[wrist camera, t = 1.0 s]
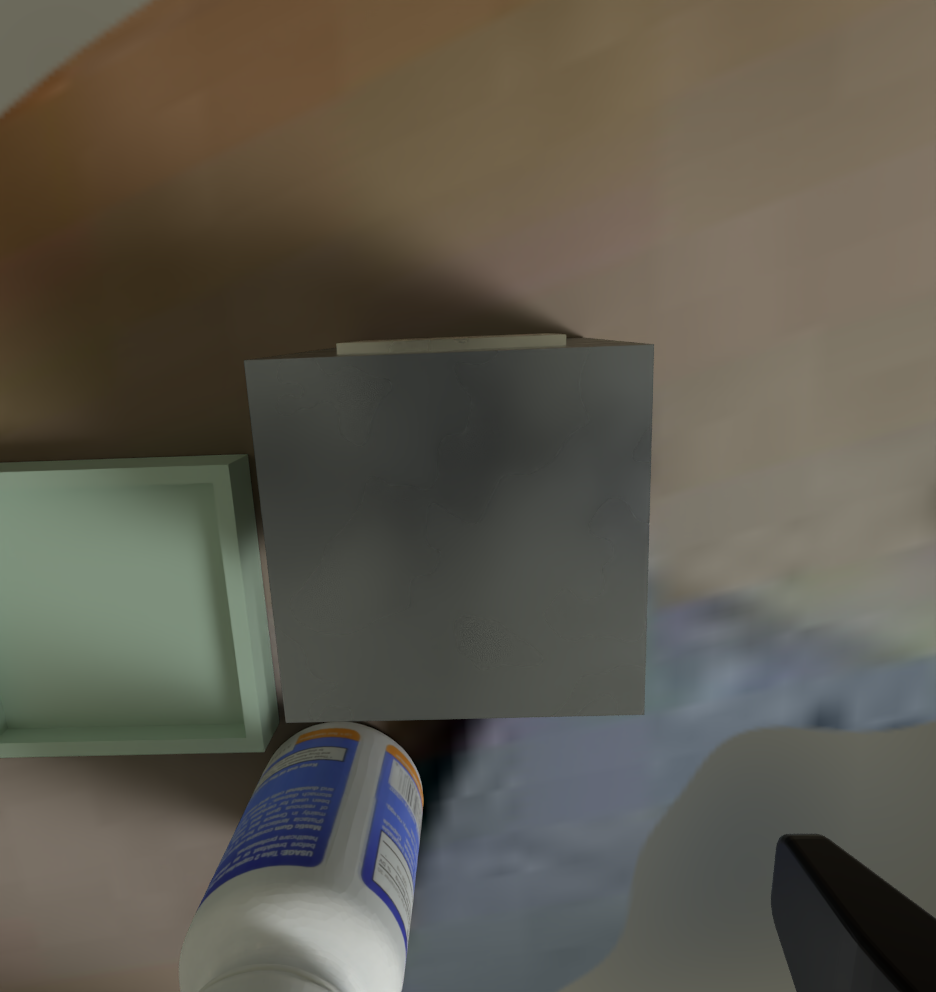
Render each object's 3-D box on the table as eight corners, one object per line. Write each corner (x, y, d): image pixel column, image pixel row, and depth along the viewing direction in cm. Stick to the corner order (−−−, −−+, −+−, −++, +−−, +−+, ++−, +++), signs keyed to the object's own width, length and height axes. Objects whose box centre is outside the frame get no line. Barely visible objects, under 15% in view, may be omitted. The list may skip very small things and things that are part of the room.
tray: (279, 722, 22) (264, 751, 21) (12, 728, 23) (-22, 758, 21) (247, 454, 20) (228, 464, 19) (-47, 464, 20) (-91, 475, 19)
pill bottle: (243, 818, 23) (81, 1151, 14) (300, 690, 22) (164, 960, 13) (388, 876, 24) (326, 1236, 14) (452, 753, 23) (430, 1060, 13)
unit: (584, 588, 21) (643, 741, 13) (359, 595, 21) (288, 749, 13) (584, 330, 19) (654, 332, 11) (338, 340, 19) (242, 348, 12)
